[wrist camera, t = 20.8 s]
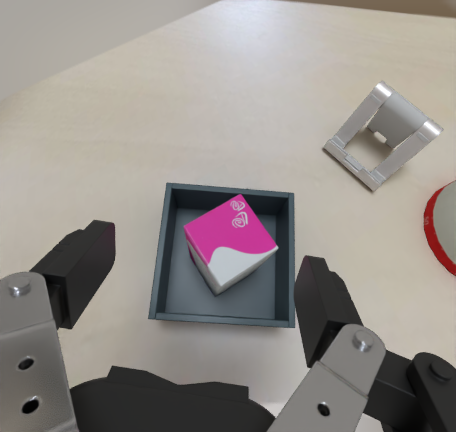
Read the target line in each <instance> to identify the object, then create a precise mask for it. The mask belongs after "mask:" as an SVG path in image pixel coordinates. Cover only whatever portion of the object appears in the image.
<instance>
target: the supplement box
mask: <svg viewBox="0 0 456 432" xmlns="http://www.w3.org/2000/svg"><path fill="white" fill-rule="evenodd" d="M184 232H185V236H186V240H187V245H188V249H189V254H190V257H191V259H192V261H193V263H194V264H195V266H196V268H197V270H198V271H199V273H200V274H201V276H202V278H203V279H204V281H205V283H206V284H207V286H208V287H209V289H210V290H211V292H212V294H213V295H214V297H216V296H218V295H219V294H221V293H222V292H224V291H225V290H227V289H229V288H230V287H232V286H233V285H235V284H236V283H238V282H239V281H241V280H242V279H244V278H245V277H247V276H248V275H250V274H251V273H253V272H254V271H256V270H257V269H258V268H259V267H260V266H261V265H262V264H263V263H264V262H265V261H266V260H267V259H268V258H269V257H270V256H271V255H272V254H273V253H274V252H276V251H277V250H278V246H277V245H276V243H275V242H274V240H273V239H272V238H271V236H270V235H269V233H268V232H267V230H266V229H265V228H264V226H263V225H262V223H261V222H260V220H259V219H258V218H257V216H256V215H255V213H254V212H253V210H252V209H251V208H250V206H249V205H248V203H247V202H246V201H245V199H244V198H243V196H242V195H241V194H239V195H237V196H236V197H234V198H232V199H230V200H229V201H227V202H225V203H224V204H222V205H220V206H218V207H216V208H215V209H213V210H211V211H209V212H207V213H206V214H204V215H202V216H200V217H198V218H197V219H195V220H193V221H191V222H189V223H188V224H186V225H184Z"/></svg>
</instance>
